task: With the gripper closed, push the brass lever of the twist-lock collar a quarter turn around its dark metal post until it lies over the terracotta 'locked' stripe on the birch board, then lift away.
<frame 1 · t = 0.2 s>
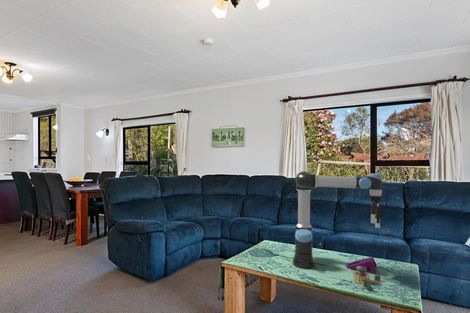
hand: (375, 225, 197), 28 cm above the table, fingers open, 13 cm apart
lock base: (361, 282, 169), on the table
collar: (362, 279, 165), point 4 cm above the table, hinge at 0.0°
mounting bracket: (360, 271, 187), on the table
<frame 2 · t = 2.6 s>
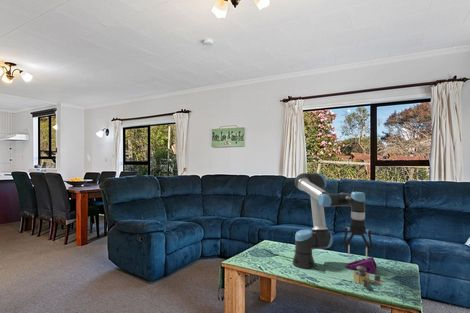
hand: (357, 257, 162), 17 cm above the table, fingers open, 9 cm apart
nothing on the table moved.
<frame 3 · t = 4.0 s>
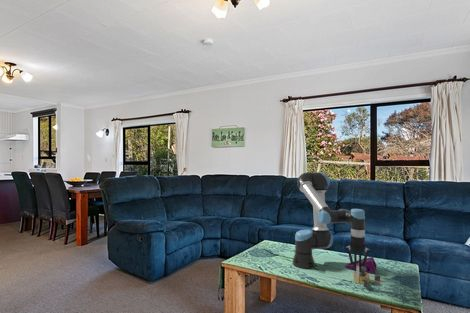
hand: (357, 276, 162), 6 cm above the table, fingers closed
nothing on the table moved.
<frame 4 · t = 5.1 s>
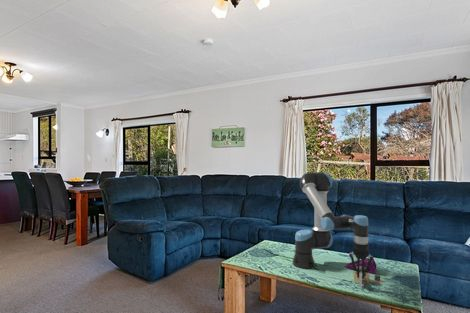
hand: (360, 283, 162), 3 cm above the table, fingers closed
collar: (362, 279, 165), point 4 cm above the table, hinge at 0.0°, touching gripper
everything else where it was.
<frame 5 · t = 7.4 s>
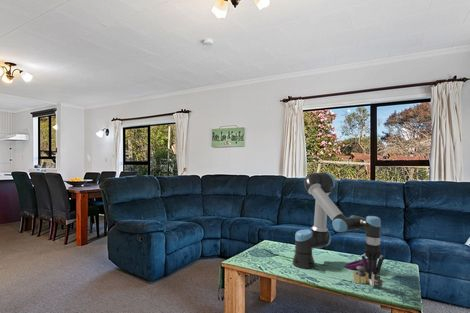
hand: (371, 284, 161), 2 cm above the table, fingers closed
collar: (367, 279, 166), point 4 cm above the table, hinge at 47.6°, touching gripper
everything else where it was.
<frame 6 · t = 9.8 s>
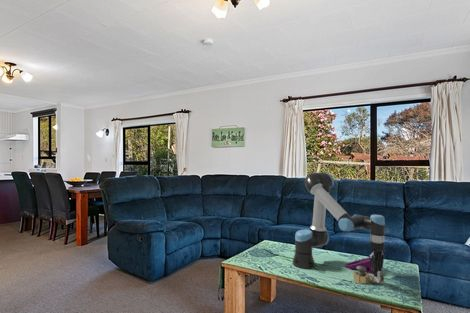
hand: (376, 281, 165), 3 cm above the table, fingers closed
collar: (368, 277, 168), point 4 cm above the table, hinge at 90.4°, touching gripper
everything else where it was.
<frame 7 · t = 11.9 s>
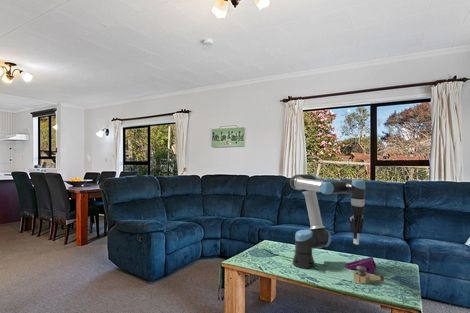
hand: (356, 243, 171), 23 cm above the table, fingers closed
collar: (368, 277, 168), point 4 cm above the table, hinge at 90.5°
everything else where it was.
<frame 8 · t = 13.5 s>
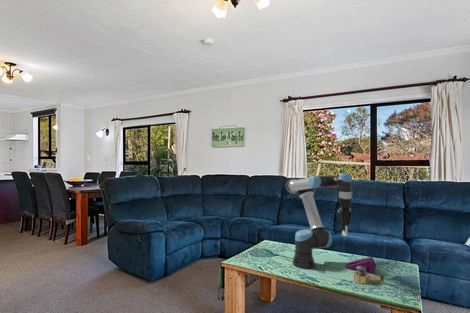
hand: (344, 235, 176), 26 cm above the table, fingers closed
nothing on the table moved.
at the end: collar at +90° (first picture: +0°) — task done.
